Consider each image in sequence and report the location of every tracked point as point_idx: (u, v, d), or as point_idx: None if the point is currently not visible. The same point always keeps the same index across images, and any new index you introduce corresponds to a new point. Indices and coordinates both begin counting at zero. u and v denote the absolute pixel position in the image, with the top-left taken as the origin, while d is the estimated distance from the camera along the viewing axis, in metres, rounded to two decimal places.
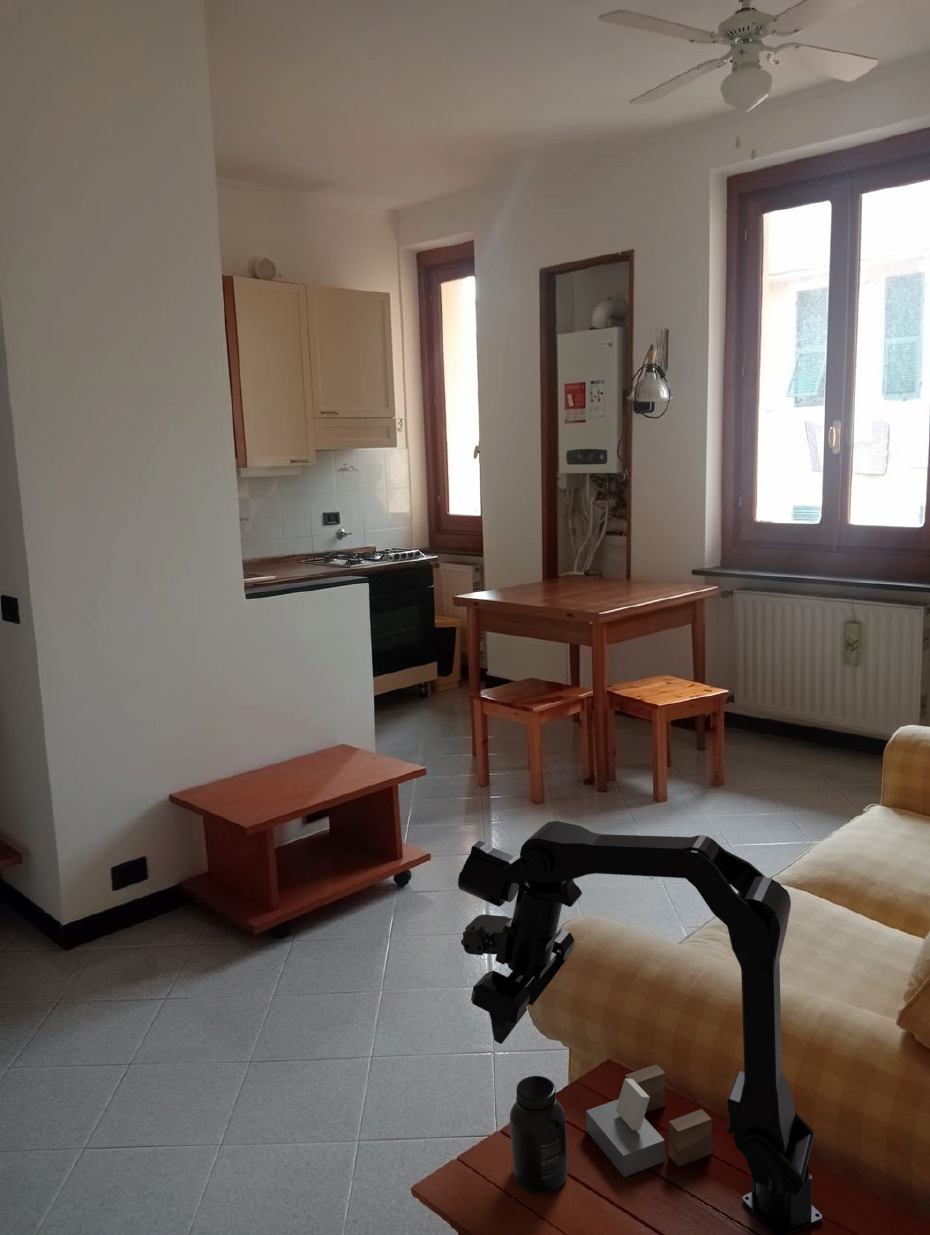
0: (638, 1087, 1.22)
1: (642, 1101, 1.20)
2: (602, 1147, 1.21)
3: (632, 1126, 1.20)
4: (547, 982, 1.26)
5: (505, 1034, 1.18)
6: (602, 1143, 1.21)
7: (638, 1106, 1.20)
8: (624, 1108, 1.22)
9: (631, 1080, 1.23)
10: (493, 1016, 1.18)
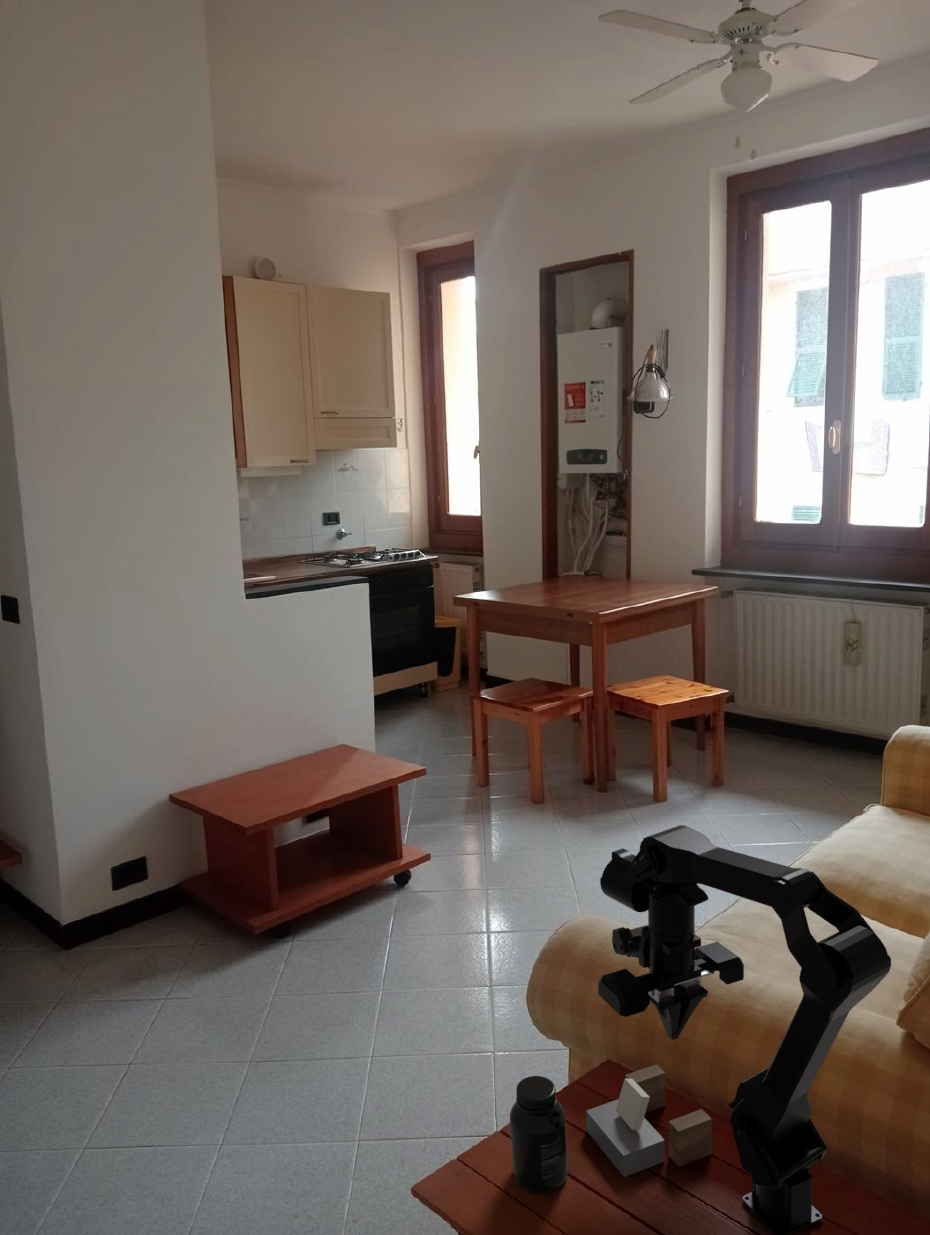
0: (638, 1087, 1.22)
1: (642, 1101, 1.20)
2: (602, 1147, 1.21)
3: (632, 1126, 1.20)
4: (683, 1014, 1.20)
5: (670, 1028, 1.21)
6: (602, 1143, 1.21)
7: (638, 1106, 1.20)
8: (624, 1108, 1.22)
9: (631, 1080, 1.23)
10: None
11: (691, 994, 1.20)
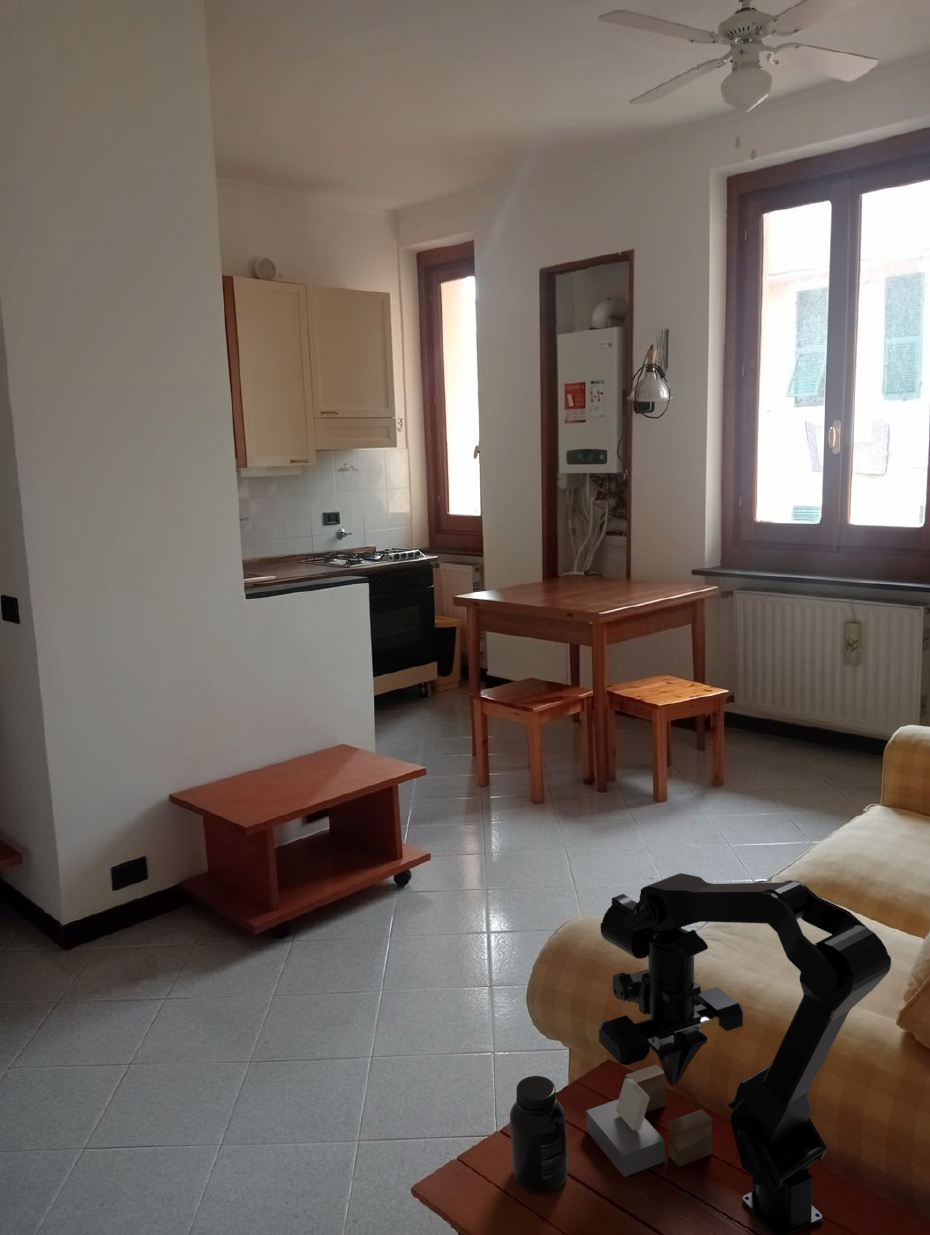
0: (638, 1087, 1.22)
1: (642, 1101, 1.20)
2: (602, 1147, 1.21)
3: (632, 1126, 1.20)
4: (683, 1061, 1.21)
5: (670, 1074, 1.22)
6: (602, 1143, 1.21)
7: (638, 1106, 1.20)
8: (624, 1108, 1.22)
9: (631, 1080, 1.23)
10: None
11: (691, 1041, 1.21)
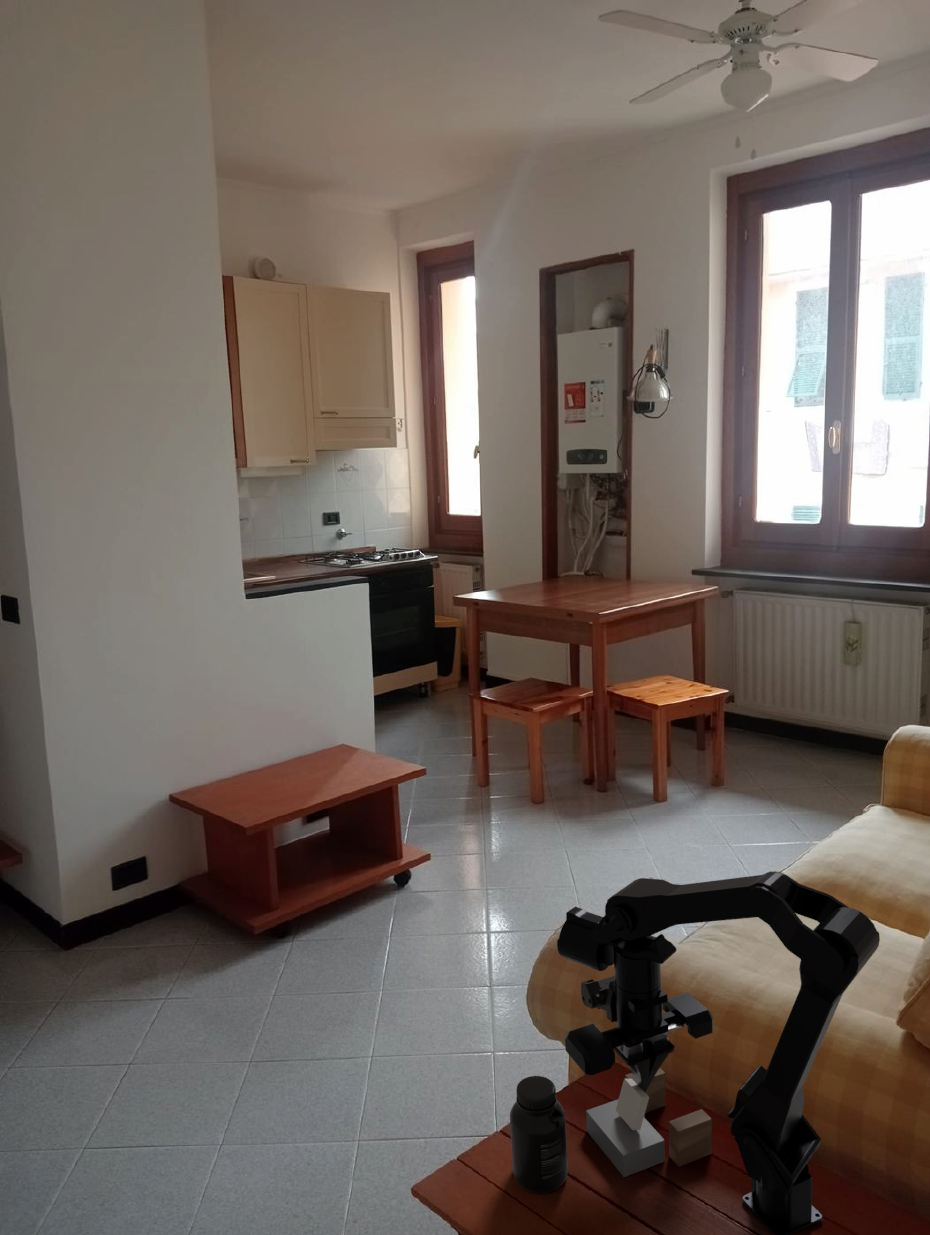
0: (637, 1087, 1.22)
1: (642, 1101, 1.19)
2: (602, 1147, 1.21)
3: (632, 1126, 1.20)
4: (650, 1069, 1.19)
5: (640, 1082, 1.20)
6: (602, 1143, 1.21)
7: (637, 1106, 1.20)
8: (623, 1108, 1.22)
9: (630, 1080, 1.23)
10: None
11: (657, 1049, 1.19)
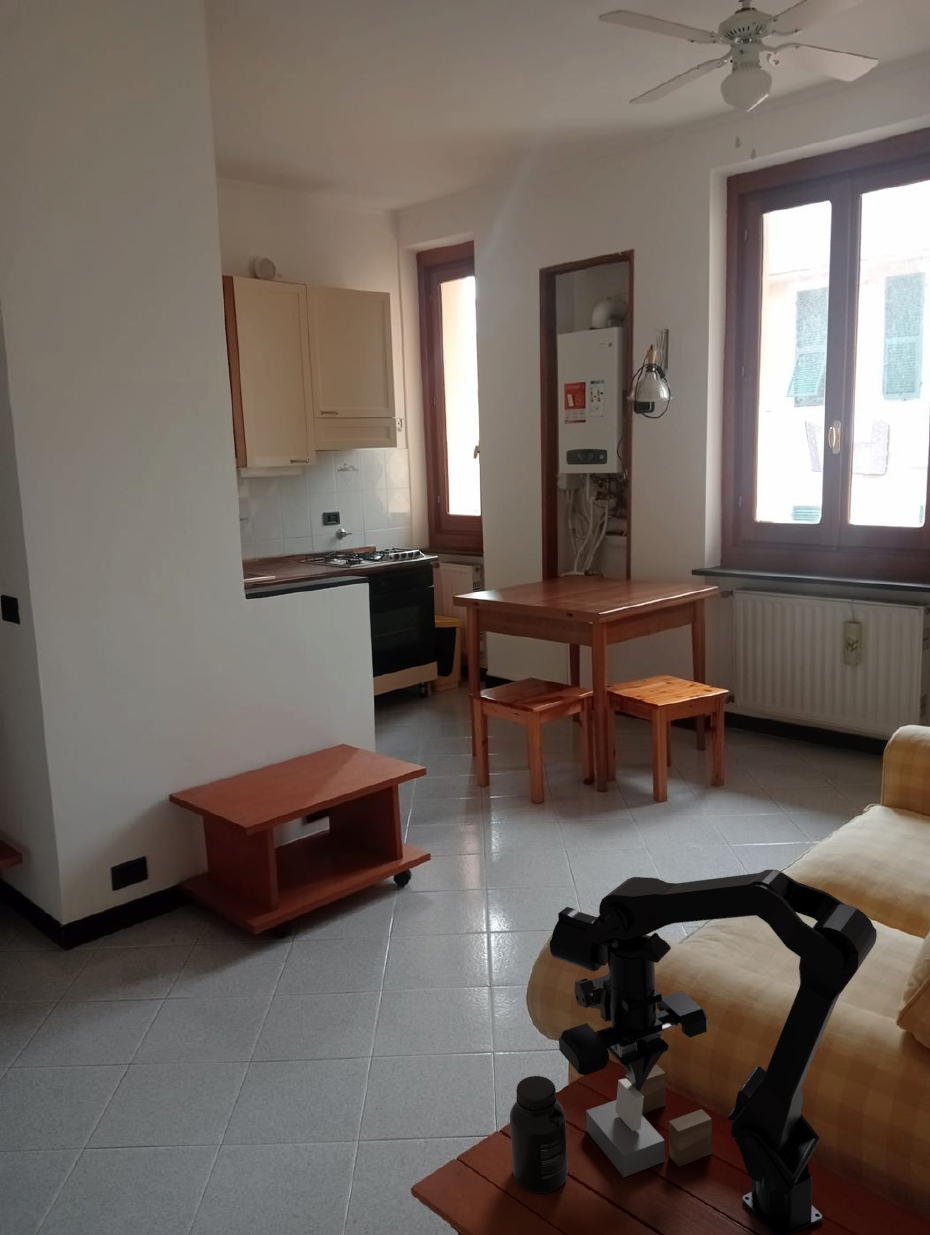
0: (632, 1087, 1.21)
1: (637, 1102, 1.19)
2: (602, 1147, 1.21)
3: (631, 1127, 1.20)
4: (644, 1069, 1.19)
5: (634, 1081, 1.20)
6: (602, 1143, 1.21)
7: (633, 1107, 1.19)
8: (622, 1109, 1.22)
9: (625, 1080, 1.23)
10: None
11: (651, 1049, 1.18)
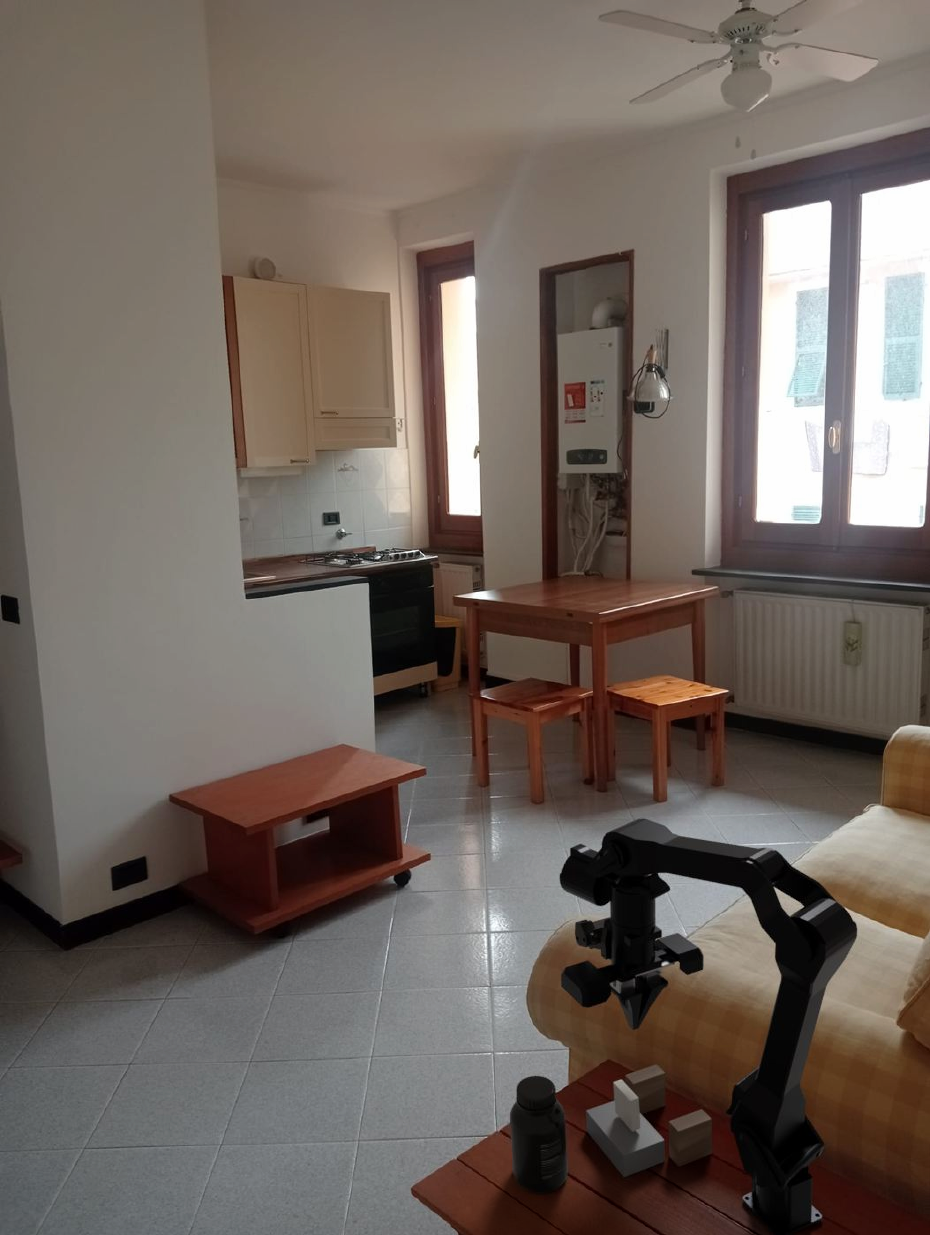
0: (627, 1088, 1.21)
1: (632, 1104, 1.19)
2: (602, 1147, 1.21)
3: (631, 1128, 1.20)
4: (644, 1004, 1.22)
5: (631, 1018, 1.23)
6: (602, 1143, 1.21)
7: (630, 1109, 1.19)
8: (620, 1110, 1.22)
9: (620, 1082, 1.22)
10: None
11: (652, 985, 1.22)
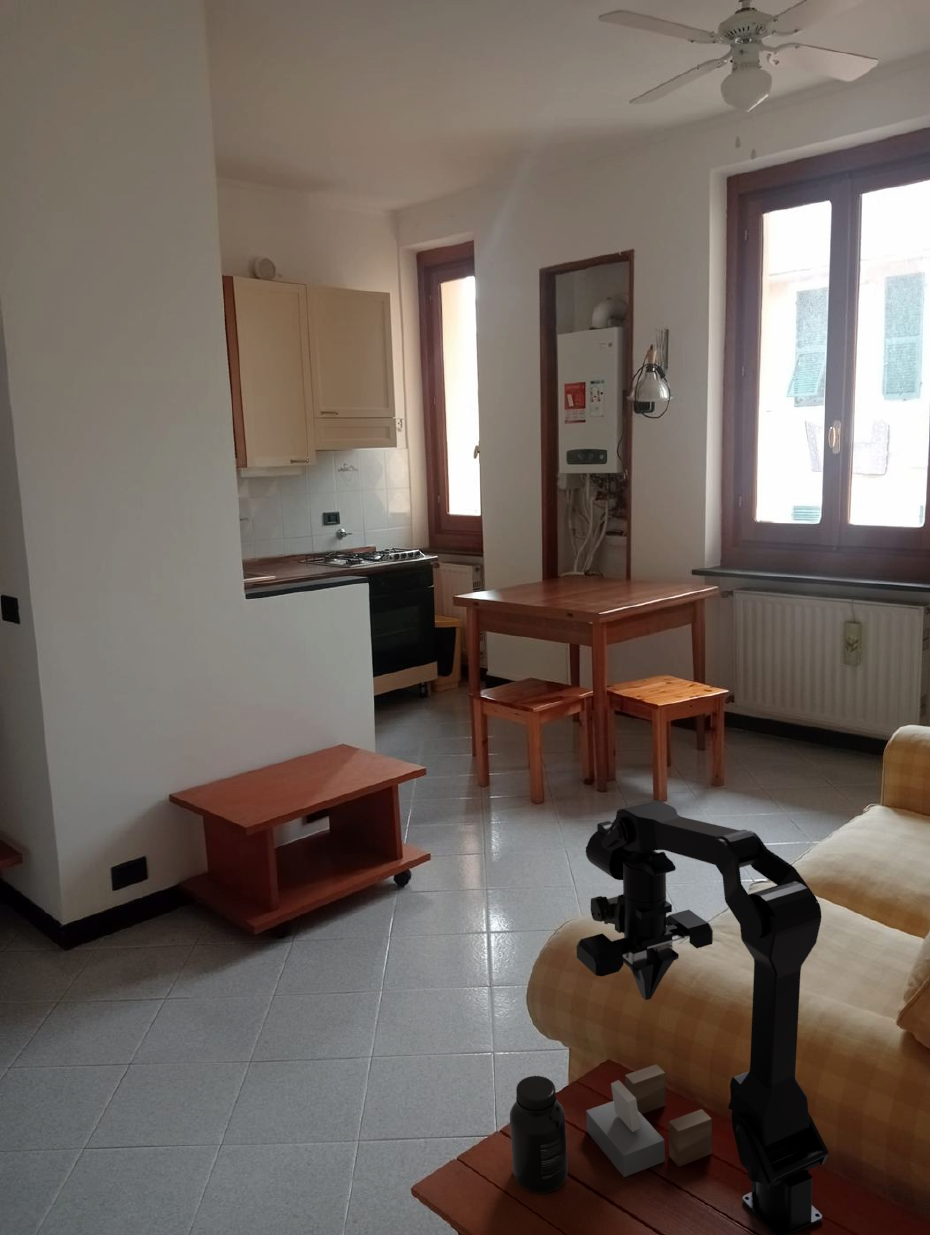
0: (624, 1089, 1.21)
1: (630, 1105, 1.19)
2: (602, 1147, 1.21)
3: (631, 1128, 1.20)
4: (655, 976, 1.29)
5: (643, 989, 1.30)
6: (602, 1143, 1.21)
7: (628, 1110, 1.19)
8: (620, 1111, 1.22)
9: (617, 1083, 1.22)
10: (632, 969, 1.31)
11: (663, 957, 1.29)
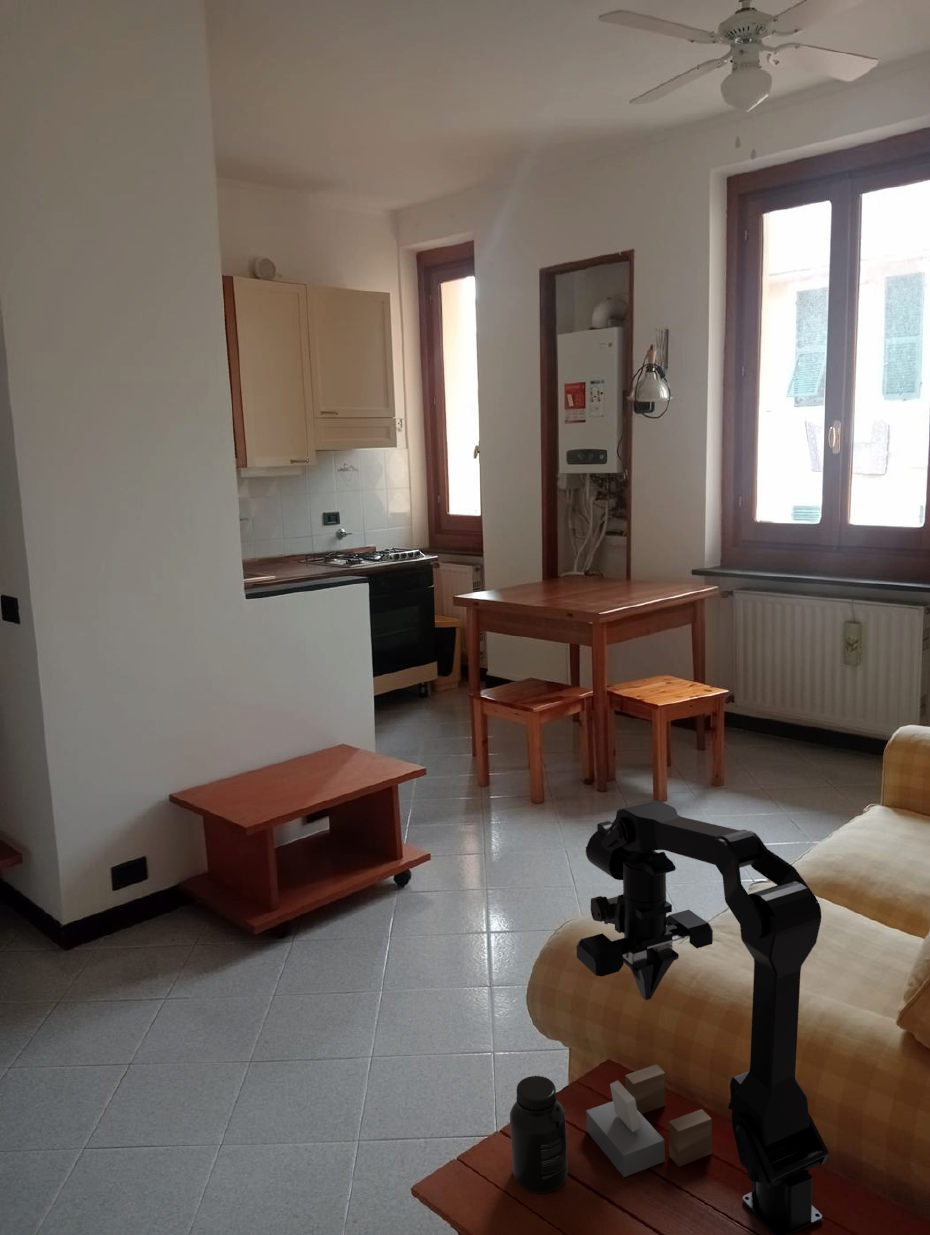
0: (623, 1090, 1.21)
1: (629, 1105, 1.19)
2: (602, 1147, 1.21)
3: (631, 1128, 1.20)
4: (655, 976, 1.29)
5: (643, 989, 1.30)
6: (602, 1143, 1.21)
7: (627, 1111, 1.19)
8: (619, 1111, 1.22)
9: (616, 1083, 1.22)
10: (632, 969, 1.31)
11: (663, 957, 1.29)
